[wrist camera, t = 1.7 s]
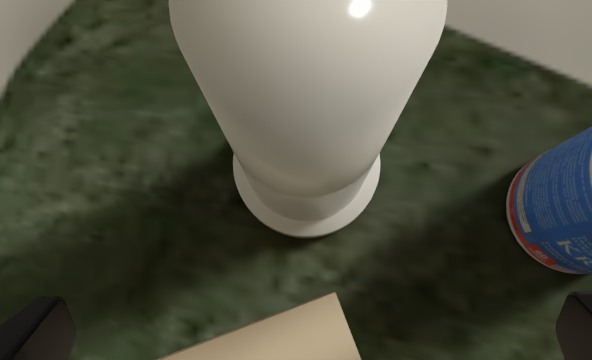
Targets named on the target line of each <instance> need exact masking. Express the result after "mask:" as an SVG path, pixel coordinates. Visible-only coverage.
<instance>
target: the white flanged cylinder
mask: <svg viewBox="0 0 592 360" xmlns="http://www.w3.org/2000/svg"><path fill="white" fill-rule="evenodd" d="M169 11H170V20H171V24H172V28H173V32H174V35H175V38H176V41H177V43H178V45H179V47H180V50H181V52H182V54H183V56H184V58H185V60H186V62H187V64H188V65H189V67H190V69H191V71H192V73H193V75H194V77H195V79H196V81H197V83H198V85H199V87H200V89H201V90H202V92H203V94H204V96H205V98H206V100H207V102H208V104H209V106H210V108H211V110H212V112H213V114H214V115H215V117H216V119H217V121H218V123H219V125H220V127H221V129H222V131H223V133H224V135H225V137H226V139H227V140H228V142H229V144H230V146H231V148H232V150H233V152H234V156H233V173H234V179H235V183H236V186H237V189H238V191H239V194H240V196H241V198H242V199H243V201H244V203H245V204H246V206H247V207H248V209H249V210H250V211H251V212H252V214H253V215H254V216H255V217H256V218H257V219H258V220H259V221H260V222H261V223H263V224H264V225H266V226H267V227H268V228H270V229H272V230H274V231H276V232H278V233H280V234H283V235H286V236H290V237H294V238H304V239H306V238H318V237H324V236H327V235H330V234H333V233H335V232H337V231H339V230H341V229H343V228H345V227H346V226H348V225H349V224H350V223H351V222H353V221H354V220H355V219H356V218H357V217H358V216H359V215H360V214H361V213H362V211H363V210H364V208H365V207H366V206H367V204H368V203H369V201H370V200H371V198H372V196H373V194H374V192H375V189H376V186H377V184H378V180H379V174H380V154H379V153H380V151H381V149H382V147H383V145H384V144H385V142H386V140H387V138H388V136H389V134H390V132H391V131H392V129H393V127H394V125H395V123H396V121H397V119H398V117H399V116H400V114H401V112H402V110H403V108H404V106H405V104H406V103H407V101H408V99H409V97H410V95H411V93H412V91H413V89H414V88H415V86H416V84H417V82H418V80H419V78H420V76H421V75H422V73H423V71H424V69H425V67H426V65H427V63H428V61H429V60H430V58H431V56H432V54H433V52H434V50H435V48H436V46H437V44H438V42H439V39H440V36H441V34H442V31H443V28H444V23H445V18H446V12H447V0H169Z"/></svg>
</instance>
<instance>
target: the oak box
mask: <svg viewBox="0 0 592 360" xmlns="http://www.w3.org/2000/svg"><path fill="white" fill-rule="evenodd" d="M156 360H361V358H360V355H359V353H358V350H357V347H356V345H355V342H354V340H353V337H352V334H351V332H350V329H349V327H348V324H347V321H346V319H345V316H344V314H343V311H342V308H341V306H340V303H339V300H338V298H337V295H336V293H335V292H329V293H327V294H324V295H321V296H319V297H316V298H314V299H311V300H308V301H306V302H303V303H301V304H298V305H296V306H293V307H290V308H288V309H285V310H283V311H280V312H277V313H275V314H272V315H270V316H267V317H264V318H262V319H259V320H257V321H254V322H252V323H249V324H246V325H244V326H241V327H239V328H236V329H233V330H231V331H228V332H226V333H223V334H221V335H218V336H215V337H213V338H210V339H208V340H205V341H202V342H200V343H197V344H195V345H192V346H189V347H187V348H184V349H182V350H179V351H177V352H174V353H171V354H169V355H166V356H164V357H161V358H158V359H156Z"/></svg>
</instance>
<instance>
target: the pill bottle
mask: <svg viewBox="0 0 592 360" xmlns="http://www.w3.org/2000/svg"><path fill="white" fill-rule="evenodd" d="M506 212H507V218H508V222H509V225H510V228H511V230H512V233H513V235H514V236H515V238H516V240H517V241H518V243H519V244H520V245H521V246H522V248H523V249H524V250H525V251H526V252H527V253H528V254H529V255H530V256H531V257H533V258H534V259H535V260H537V261H538V262H540V263H542V264H543V265H545V266H548V267H550V268H552V269H555V270H558V271H561V272H566V273H574V274H592V127H590V128H588V129H586V130H585V131H583V132H581V133H579V134H577V135H576V136H574V137H572V138H570V139H568V140H566V141H565V142H563V143H561V144H559V145H558V146H556V147H554V148H552V149H550V150H548V151H546V152H545V153H543V154H541V155H539V156H537V157H536V158H534V159H533V160H531V161H530V162H528V163H527V164H526V165H525V166H524V167H523V168H522V169H521V170H520V171H519V172H518V173H517V174H516V176H515V177H514V179H513V181H512V183H511V185H510V187H509V191H508V194H507V201H506Z"/></svg>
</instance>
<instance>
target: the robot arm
mask: <svg viewBox="0 0 592 360" xmlns="http://www.w3.org/2000/svg"><path fill="white" fill-rule="evenodd" d="M556 334H557V338H558V341H559V344H560V347H561V349H562V352H563V355H564V358H565V360H592V292H571V293H570V294H569V295H568V296H567V298H566V300H565V303H564V305H563V308H562V310H561V313H560V315H559V318H558V320H557V323H556ZM75 336H76V330H75V326H74V323H73V320H72V318H71V315H70V313H69V310H68V308H67V305H66V303H65V301H64V300H63V299H62V298H61V297H38V298H35V299H34V300H32V301H31V302H29V303H28V304H27V305H25V306H24V307H23V308H21V309H20V310H19V311H17V312H16V313H14V314H13V315H12V316H10V317H9V318H8V319H6V320H5V321H4V322H2V323H1V324H0V360H69V358H70V355H71V352H72V348H73V345H74V341H75Z"/></svg>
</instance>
